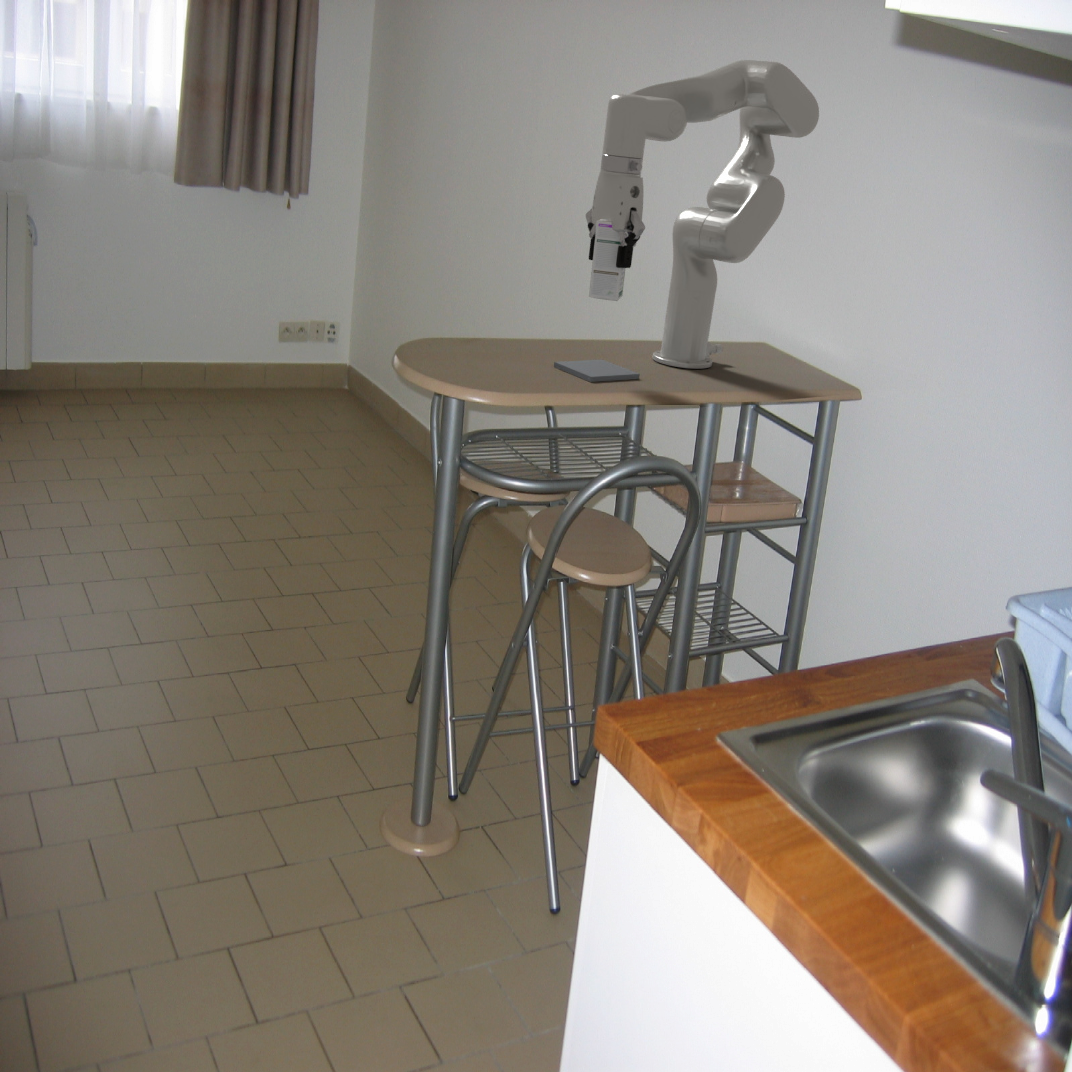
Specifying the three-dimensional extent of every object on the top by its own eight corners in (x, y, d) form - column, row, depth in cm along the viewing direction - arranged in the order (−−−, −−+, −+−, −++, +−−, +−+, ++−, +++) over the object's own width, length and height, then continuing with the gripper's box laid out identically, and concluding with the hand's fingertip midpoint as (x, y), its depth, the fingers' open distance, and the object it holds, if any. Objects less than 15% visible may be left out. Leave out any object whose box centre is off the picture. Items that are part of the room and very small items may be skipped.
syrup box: (618, 301, 214) (628, 222, 208) (587, 297, 215) (596, 218, 209) (622, 297, 219) (632, 220, 214) (592, 293, 220) (601, 216, 215)
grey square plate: (601, 364, 230) (602, 359, 230) (639, 378, 221) (639, 373, 221) (553, 366, 223) (554, 361, 223) (590, 382, 214) (590, 376, 214)
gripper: (667, 173, 204) (653, 272, 210) (608, 163, 217) (597, 256, 223) (635, 170, 200) (622, 271, 206) (577, 160, 213) (566, 256, 219)
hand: (609, 263), depth 214 cm, fingers closed on syrup box, 7 cm apart
